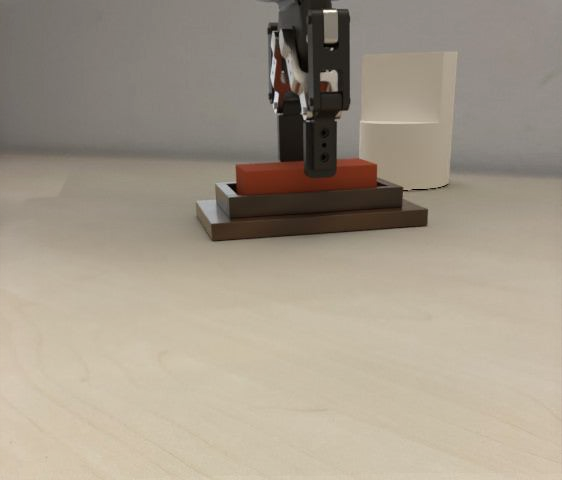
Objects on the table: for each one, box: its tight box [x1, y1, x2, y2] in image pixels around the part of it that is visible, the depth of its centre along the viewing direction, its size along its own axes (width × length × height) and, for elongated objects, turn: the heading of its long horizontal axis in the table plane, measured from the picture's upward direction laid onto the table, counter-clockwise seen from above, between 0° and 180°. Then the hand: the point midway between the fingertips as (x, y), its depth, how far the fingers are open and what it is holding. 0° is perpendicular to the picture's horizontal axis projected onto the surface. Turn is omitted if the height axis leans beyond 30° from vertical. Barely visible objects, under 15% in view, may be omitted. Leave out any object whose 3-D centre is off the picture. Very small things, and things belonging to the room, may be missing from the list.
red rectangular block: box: [235, 157, 377, 195], centre depth 54 cm, size 10×4×3 cm, turn 103°
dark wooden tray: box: [195, 177, 429, 242], centre depth 54 cm, size 16×10×3 cm, turn 102°
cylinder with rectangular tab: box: [358, 50, 459, 190], centre depth 69 cm, size 9×9×12 cm
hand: (305, 169), depth 53 cm, fingers open, 8 cm apart
